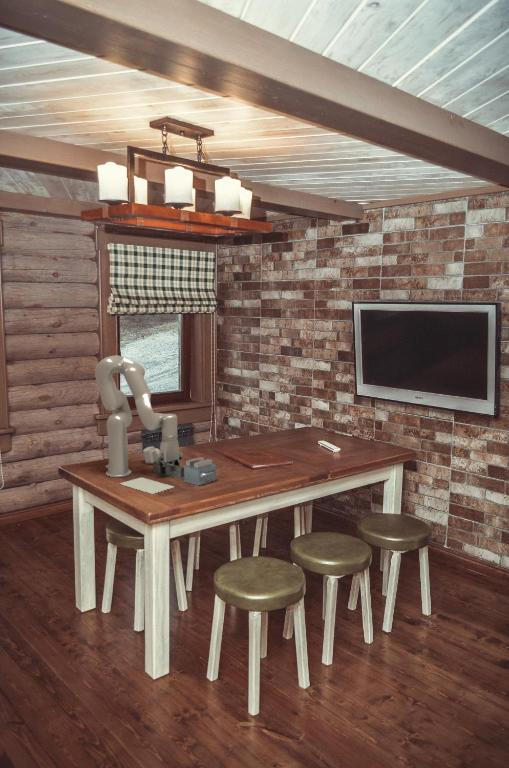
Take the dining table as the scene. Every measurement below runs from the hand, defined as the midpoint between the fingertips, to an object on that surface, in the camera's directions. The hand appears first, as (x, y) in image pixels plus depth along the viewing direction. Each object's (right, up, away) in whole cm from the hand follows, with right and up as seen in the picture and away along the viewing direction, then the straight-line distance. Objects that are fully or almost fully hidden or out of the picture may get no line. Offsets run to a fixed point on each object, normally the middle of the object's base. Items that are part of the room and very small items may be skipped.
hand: (169, 472), depth 298 cm
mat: (-9, -4, -17) cm, 19 cm away
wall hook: (-11, +1, +25) cm, 27 cm away
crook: (+1, -2, +3) cm, 4 cm away
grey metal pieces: (+8, -2, -2) cm, 9 cm away
